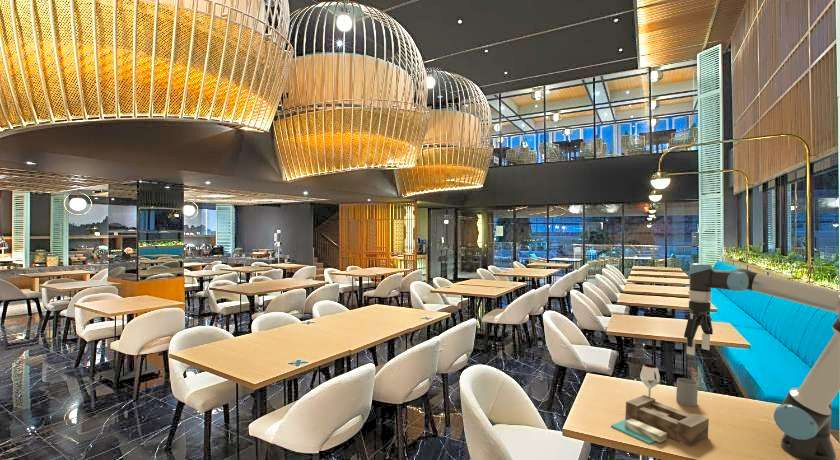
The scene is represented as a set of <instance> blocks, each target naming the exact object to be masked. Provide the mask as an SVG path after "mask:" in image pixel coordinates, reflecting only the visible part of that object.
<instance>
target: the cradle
mask: <svg viewBox="0 0 840 460" xmlns="http://www.w3.org/2000/svg"><path fill="white" fill-rule="evenodd" d="M625 419H635V420H637V421H640V422H642V423H644V424H647V425H649V426H652V427H654V428H656V429H659V430H661V431H664V432H666V433H667V438H669V439H672V440H674V441H676V442H679V443H681V442H682V443H681V444H683V443H684V445H685V444H686V446H688V445H689V446H688V447H690V446H691V447H692V445H693V446H694V444H695V445H696V444H698V443H700V442H702V441H704V440H705V439H708V437H709V420H710V419H709V418H708V417H706V416H703V415H700V414H697V413H693V414H690V413H687V412H685V411H683V410H679V409H678V408H675V407H671V406H668V405H666V404H663V403H661V402H658V401H656V398H653V397H651V396H650V397H648V395H645V394H644V395H640V396H638V397H635V398H632V399H630V400H627V401H625ZM625 419H624V420H625Z"/></svg>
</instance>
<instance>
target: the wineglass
mask: <svg viewBox="0 0 840 460" xmlns="http://www.w3.org/2000/svg"><path fill="white" fill-rule="evenodd" d="M639 379H640V380H641V382H642V383H643V384H644V385H645V386H646V387H647V389H648V393H647V394H648V395H647V396H648V397H651V389H652V388H654V387H656V386H658V385H659V383H660V381H661V376H660V372H659V367H658V366H657V365H654V364H650V363H644V364H643V365H642V368H641V371H640V375H639Z"/></svg>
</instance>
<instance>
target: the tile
mask: <svg viewBox="0 0 840 460" xmlns="http://www.w3.org/2000/svg"><path fill="white" fill-rule="evenodd" d="M625 428H628V429H630V430H632V431H635V432H637V433H639V434H641V435H644V436H646V437H648V438H650V439H653V440H655V441H656V442H658V443H663V442H664V441H666V440H668V437H667V433H666V432H664V431H661V430H659V429H656V428H654V427H652V426H649V425H647V424H644V423H642V422H640V421H637V420H635V419H629V420H627V421H625Z"/></svg>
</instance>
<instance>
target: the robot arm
mask: <svg viewBox="0 0 840 460" xmlns="http://www.w3.org/2000/svg"><path fill="white" fill-rule="evenodd" d="M712 289H719V290H726V291H733V292H745V291H752V292H755V293H759V294H764V295H767V296H770V297H771V296H772V297H775V298H778V299H783V300H786V301H790V302H794V303H797V304H801V305H804V306H809V307H812V308H816V309H820V310H824V311H828V312H832V313H835V314H836V315H837V316H838V317H837V318H836V320H835V321H834V323H833V324H832V326H831V328H832V330H833V332H834V334H833V335H832V337H831V338H830V339H829V341H828V343H827V345H826V346H825V348H824V349H823V350H822V352H821V354H820V355H819V357H818V359H817V360H816V361H815V363H814V365H813V366H812V368H810V370H809V372H807V373H808V374H807V375H806V376H805V378H804V380H803V381H802V383H801V385H800V386H799V387H792V388H790V389H789V392H788V393H787V395H786V396H785V398H784V399H783V400H782V403H781V404H780V405H778V406H776V408H775V409H774V413H773V419H774V422H775V424H776V426H777V427H778V429H779V430H780V431H781V432H783V433H784V434H783V435H782V437H781V440H780V447H781V448H782V449H783V450H784V451H785V452H786V453H789V454H790V455H792V456H794V457H797V458H799V459H802V460H835V459H836V458H837V455H836V451H835V448H834V445H833V442H832V440H831V426H832V407H833V403H832V402H833V400H834V399H835V398H836V396H837V394H838V393H839V392H840V291H837V290H834V289H833V290H832V289H828V288H824V287H819V286H815V285H810V284H806V283H801V282H797V281H793V280H790V279H785V278H781V277H776V276H772V275H768V274H763V273H759V272H755V271H752V270H749V269H746V268H738V269H733V270H731V269H730V270H722V269H721V270H719V269H713V267H712V264H710V263H703V262H702V263H701V262H699V263H698V262H697V263H696V262H694V263H691V264H690V268H689V289H688V290H689V291H688V294H689V295H688V296H689V297H688V298H689V300H688V309H689V310H691V311H692V313H688V317H687V322H686V326H685V330H684V334H683V337H684V338H685V339H686V355H691V356H695V351H696V339H695V336H696V333H697V332H698V331H697V330H698V328H699V327H700V329H701V330H702V332H703V333H701V350H706V351H710V347H711V343H710V342H711V335H713V334H714V332H713V331H714V329H713V325H712V319H711V312H710V311H711V304H712V303H711V301H712ZM836 460H837V459H836Z"/></svg>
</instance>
